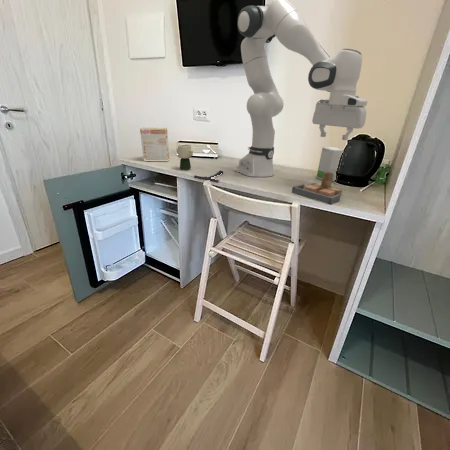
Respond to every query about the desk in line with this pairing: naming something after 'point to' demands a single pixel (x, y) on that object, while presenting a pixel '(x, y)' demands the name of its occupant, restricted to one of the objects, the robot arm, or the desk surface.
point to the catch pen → (315, 195)
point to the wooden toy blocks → (327, 183)
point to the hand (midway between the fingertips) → (333, 138)
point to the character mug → (184, 156)
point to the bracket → (209, 177)
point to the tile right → (327, 192)
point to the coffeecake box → (155, 143)
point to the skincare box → (329, 161)
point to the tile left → (312, 188)
